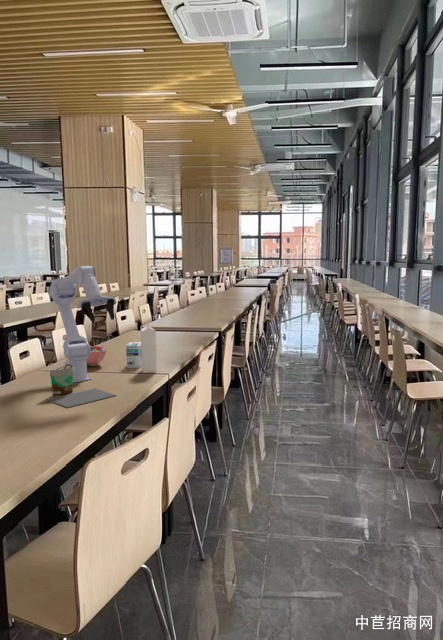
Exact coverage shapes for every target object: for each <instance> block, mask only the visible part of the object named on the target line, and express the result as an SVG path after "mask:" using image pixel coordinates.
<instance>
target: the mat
mask: <svg viewBox="0 0 443 640" xmlns="http://www.w3.org/2000/svg"><path fill="white" fill-rule="evenodd" d="M114 397H117V395H116V394H114V393H112V392H111V393H110V392H108V391H105V390H102V389H99V388H91V389H86V390H83V391H82V390H81V391H78V392H72V393H70V394H67V395H61V396H54V397H51V398H47V399H46V400H47V401H48V402H49V403H50V402H51V403H54V405H55V404H56V405H59V406H61V407H64V408H65V409H69V408H73V407H77V406H81V405H85V404H90V403H94V402H98V401H101V400H105V399H110V398H114Z"/></svg>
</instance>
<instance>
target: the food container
mask: <svg viewBox="0 0 443 640" xmlns="http://www.w3.org/2000/svg"><path fill="white" fill-rule="evenodd" d="M74 372H75V369H74V367H73V365H71V364H66V366H65V365H64V366H62V367H59V368H57V369H53V370H52V369H50V370H49V377H50V382H51V389H52V391H51V392H52V397H60V396H64V395H68V394H73V393H74V392H73V391H74V382H73V373H74Z"/></svg>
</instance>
